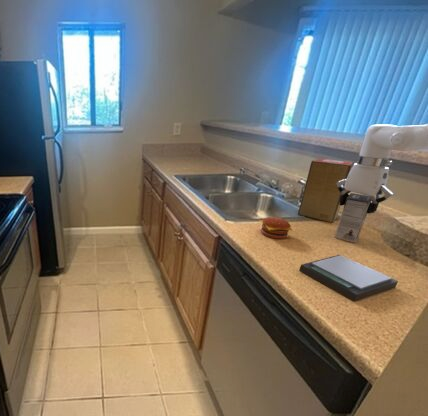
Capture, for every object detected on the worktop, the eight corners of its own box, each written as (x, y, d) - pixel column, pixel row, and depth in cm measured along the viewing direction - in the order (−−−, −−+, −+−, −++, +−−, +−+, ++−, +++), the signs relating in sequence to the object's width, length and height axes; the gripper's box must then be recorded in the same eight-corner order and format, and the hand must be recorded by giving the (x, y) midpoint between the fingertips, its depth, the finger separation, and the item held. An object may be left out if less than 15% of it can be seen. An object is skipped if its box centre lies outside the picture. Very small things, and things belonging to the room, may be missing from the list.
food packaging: (337, 217, 122) (355, 161, 113) (333, 223, 116) (351, 165, 108) (302, 209, 132) (316, 157, 123) (296, 214, 126) (310, 160, 117)
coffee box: (338, 230, 110) (350, 192, 104) (359, 235, 106) (373, 196, 100) (333, 237, 104) (346, 197, 99) (355, 243, 100) (370, 201, 94)
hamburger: (293, 239, 103) (297, 223, 101) (266, 239, 104) (270, 223, 102) (280, 228, 112) (283, 214, 110) (255, 228, 113) (258, 213, 110)
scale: (395, 287, 76) (399, 279, 75) (354, 301, 71) (357, 292, 70) (337, 260, 89) (339, 253, 88) (299, 270, 84) (301, 262, 83)
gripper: (411, 165, 88) (392, 215, 94) (350, 156, 104) (337, 200, 110) (397, 167, 86) (378, 218, 92) (337, 158, 101) (324, 202, 108)
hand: (356, 208), depth 101 cm, fingers closed on coffee box, 8 cm apart
